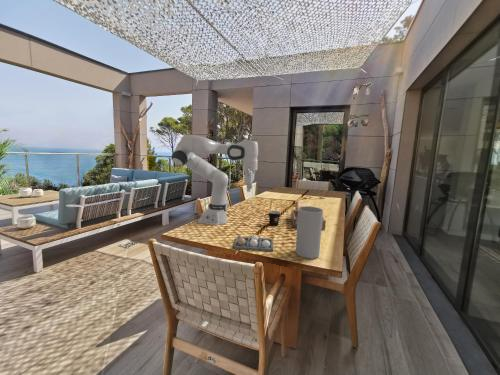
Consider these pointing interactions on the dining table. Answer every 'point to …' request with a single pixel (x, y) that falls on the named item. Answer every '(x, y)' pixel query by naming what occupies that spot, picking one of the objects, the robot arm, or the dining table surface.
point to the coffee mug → (273, 218)
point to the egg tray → (248, 247)
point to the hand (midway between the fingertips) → (249, 190)
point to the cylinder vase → (309, 231)
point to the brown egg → (241, 241)
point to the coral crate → (295, 219)
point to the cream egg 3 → (266, 244)
